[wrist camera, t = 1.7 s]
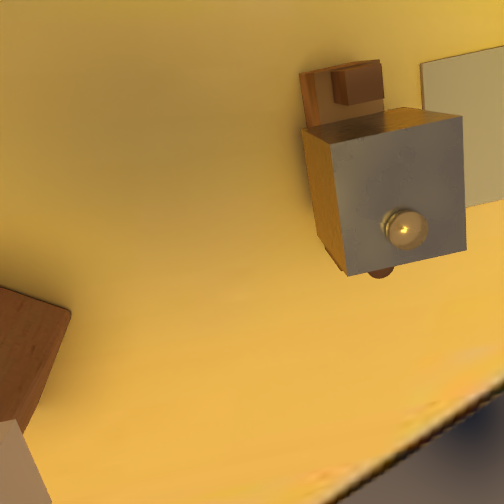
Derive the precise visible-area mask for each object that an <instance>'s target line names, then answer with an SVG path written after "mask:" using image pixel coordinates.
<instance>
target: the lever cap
mask: <svg viewBox="0 0 504 504" xmlns="http://www.w3.org/2000/svg"><path fill="white" fill-rule="evenodd" d="M301 133H302V139H303V146H304V152H305V158H306V165H307V171H308V178H309V184H310V191H311V197H312V204H313V210H314V217H315V223H316V230H317V235H318V237H319V238H320V239H321V241H322V242H323V243H324V245H325V246H326V248H327V249H328V250H329V252H330V253H331V255H332V256H333V257H334V259H335V260H336V261H337V263H338V264H339V266H340V267H341V268H342V270H343V271H344V272H345V274H346V275H347V277H348V276H353V275H357V274H362V273H366V272H371V271H375V270H379V269H384V268H388V267H393V266H397V265H402V264H406V263H411V262H415V261H420V260H424V259H429V258H433V257H438V256H442V255H447V254H451V253H456V252H460V251H465V250H467V246H466V213H465V180H464V148H463V116H460V115H454V114H447V113H440V112H434V111H427V110H421V109H414V108H407V107H401V108H397V109H392V110H387V111H383V112H378V113H373V114H369V115H364V116H359V117H355V118H350V119H346V120H341V121H336V122H332V123H327V124H322V125H318V126H313V127H308V128H304V129H301Z"/></svg>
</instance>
